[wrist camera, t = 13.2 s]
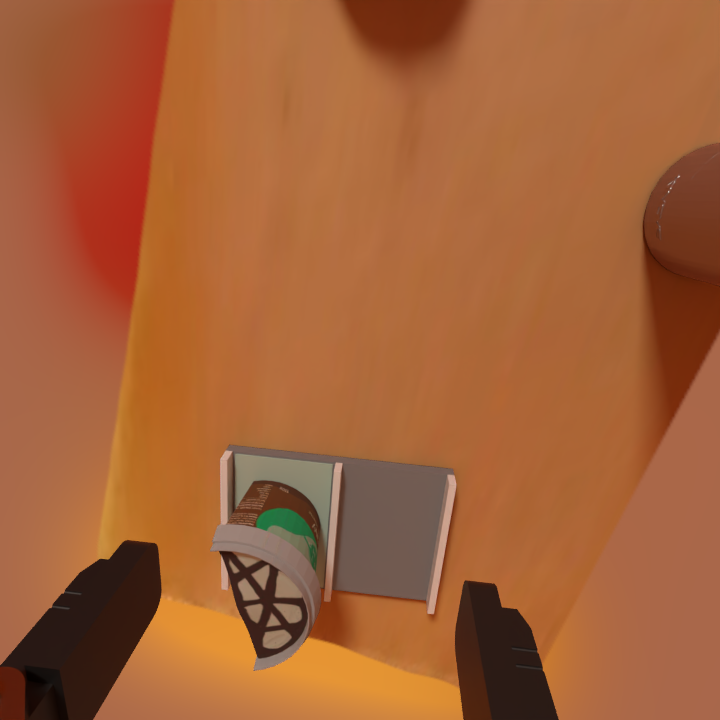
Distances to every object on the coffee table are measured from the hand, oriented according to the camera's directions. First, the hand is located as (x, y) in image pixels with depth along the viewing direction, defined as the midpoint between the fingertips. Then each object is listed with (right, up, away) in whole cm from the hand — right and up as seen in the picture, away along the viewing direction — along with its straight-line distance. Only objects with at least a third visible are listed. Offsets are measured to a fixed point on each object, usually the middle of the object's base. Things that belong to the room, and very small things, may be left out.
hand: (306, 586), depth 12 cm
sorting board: (-1, -9, +32) cm, 34 cm away
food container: (-4, -9, +31) cm, 33 cm away
